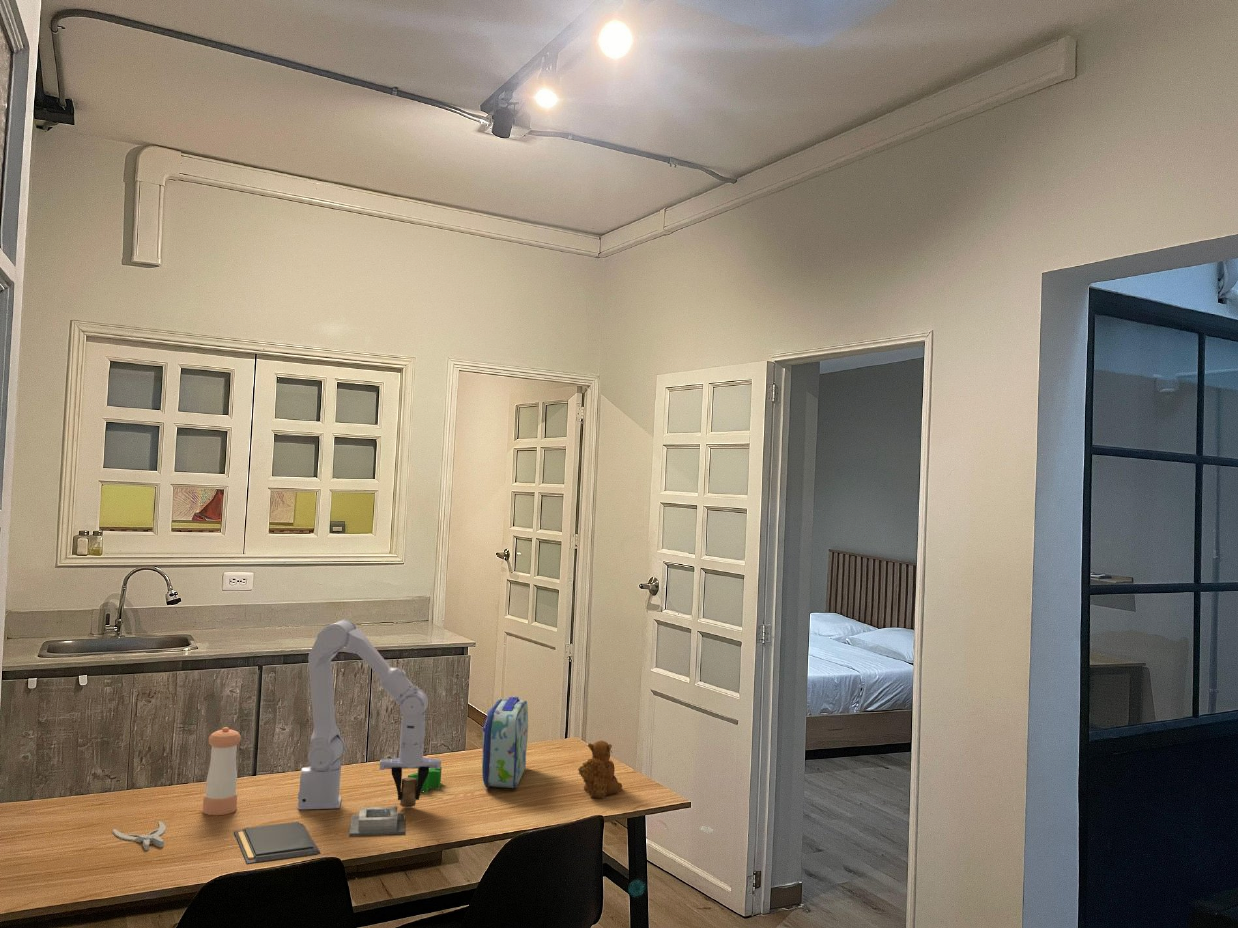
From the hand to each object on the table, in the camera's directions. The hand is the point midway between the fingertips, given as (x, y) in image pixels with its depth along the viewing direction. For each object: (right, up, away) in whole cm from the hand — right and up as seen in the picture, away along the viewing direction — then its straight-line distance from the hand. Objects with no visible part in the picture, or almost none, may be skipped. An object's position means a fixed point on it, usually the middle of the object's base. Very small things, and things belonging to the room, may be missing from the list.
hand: (408, 798), depth 218 cm
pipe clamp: (+1, -4, +15) cm, 16 cm away
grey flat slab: (-23, -1, -25) cm, 34 cm away
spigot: (0, -1, 0) cm, 1 cm away
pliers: (-50, +1, -26) cm, 57 cm away
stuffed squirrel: (+46, -6, +19) cm, 50 cm away
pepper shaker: (-42, 0, -8) cm, 43 cm away
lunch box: (+20, -5, +28) cm, 34 cm away
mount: (-4, -2, -13) cm, 13 cm away
